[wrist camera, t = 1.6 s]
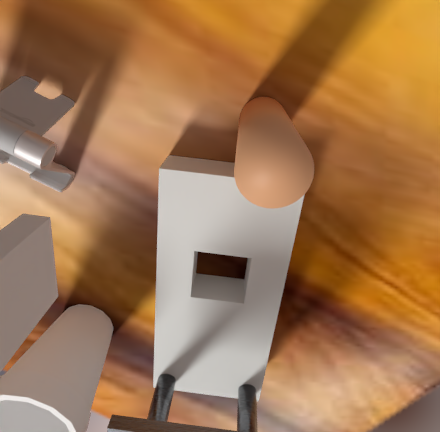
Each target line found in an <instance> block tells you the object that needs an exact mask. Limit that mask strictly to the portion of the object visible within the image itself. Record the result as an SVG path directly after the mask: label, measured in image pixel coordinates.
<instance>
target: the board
mask: <svg viewBox="0 0 440 432" xmlns="http://www.w3.org/2000/svg"><path fill="white" fill-rule="evenodd" d="M234 166H235V163H232V162H224V161H215V160H207V159H198V158H190V157H181V156H173V155H169V156H168V157H167V158H166V160H165V161H164V163H163V164H162V165H161V167H160V168H159V193H158V231H157V268H156V305H155V342H154V380H153V387H154V388H156V384H157V380H158V377H159V376H160V375H161V374H170V375H172V376H174V377H175V379H176V382H175V387H174V390H177V391H184V392H192V393H200V394H207V395H215V396H222V397H230V398H238V388H239V387H240V386H241V385H244V384H250V385H252V386H254V387H255V388H256V400H257V401H259V397H260V393H261V388H262V384H263V379H264V375H265V370H266V366H267V361H268V357H269V352H270V348H271V343H272V339H273V334H274V330H275V325H276V321H277V316H278V312H279V307H280V303H281V298H282V294H283V289H284V285H285V280H286V276H287V271H288V267H289V262H290V258H291V253H292V249H293V244H294V240H295V235H296V231H297V226H298V222H299V217H300V213H301V208H302V204H303V199H304V195H305V194H304V195H303V196H302V197H301V198H300V199H299V200H297V201H296V202H294V203H293V204H290V205H288V206H285V207H282V208H273V209H272V208H263V207H260V206H257V205H255V204H253V203H251V202H250V201H248V200H247V199H246V198H245V197H244V196H243V195H242V194H241V192H240V191H239V189H238V187H237V185H236V182H235V178H234ZM198 252H205V253H213V254H221V255H229V256H237V257H246V258H248V260H247V266H246V273H245V279H238V278H230V277H222V276H214V275H206V274H198V273H196V268H197V257H198Z"/></svg>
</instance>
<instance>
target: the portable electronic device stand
mask: <svg viewBox="0 0 440 432" xmlns="http://www.w3.org/2000/svg"><path fill="white" fill-rule="evenodd" d="M38 85H39V82H37V81H35V80H34V79H32V78H30V77H27V76H22V77H20V78H19V79H18V80H16V81H15V82H13V83H12V84H11V85H9V86H8V87H6V88H5V89H3V90H2V91H1V92H0V163H1V164H4V163H9V164H11V165H13V166H15V167H18V168H20V169H22V170H24V171H26V172H28V173H30V178H32V179H34V180H36V181H38V182H40V183H42V184H45V185H47V186H49V187H51V188H53V189H55V190H57V191H59V192H63V191H65V190H66V189H67V188H68V187H69V186H70V185H71V183H72V181H73V179H74V176H75V172H73V171H71V170H69V169H68V168H67V167H65V166H63V165H61V164H60V165H59V164H57V163H55V162H53V159H54V157H55V154H56V151H57V144H56V143H54V142H52V141H50V140H48V139H46V138H44V137H42V135H44V134H45V133H46V132H47V131H48V130H49V129H50V128H51V127H52V126H53V125H54V124H55V123H56V122H57V121H58V120H60V119H61V118H62V117H63V116H64V115H65V114H66V113H67V112H68V111H69V110H70V109H71V108H72V107H74V101H73V100H72V99H70V98H68V97H66V96H64V95H60V96H58V97H57V98H55V99H52V100H51V99H47V98H45V97H43V96H42V95H40V94H38V93H36V92H34V90H35V89H36V88H37V87H38Z"/></svg>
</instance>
